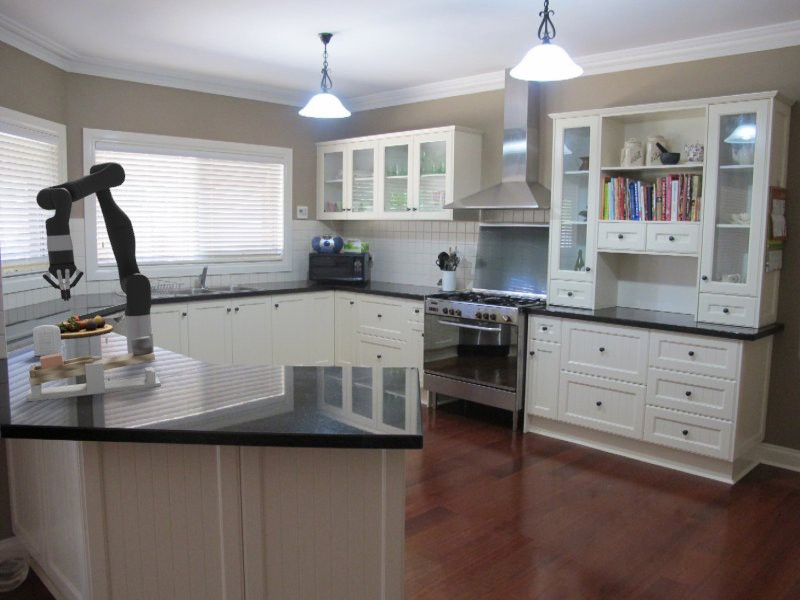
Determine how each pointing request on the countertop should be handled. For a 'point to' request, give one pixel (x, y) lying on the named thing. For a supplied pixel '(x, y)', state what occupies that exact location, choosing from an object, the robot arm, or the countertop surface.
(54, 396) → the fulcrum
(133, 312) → the robot arm
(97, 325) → the wooden plate with food
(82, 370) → the beam
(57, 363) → the rider
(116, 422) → the countertop surface
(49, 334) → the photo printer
